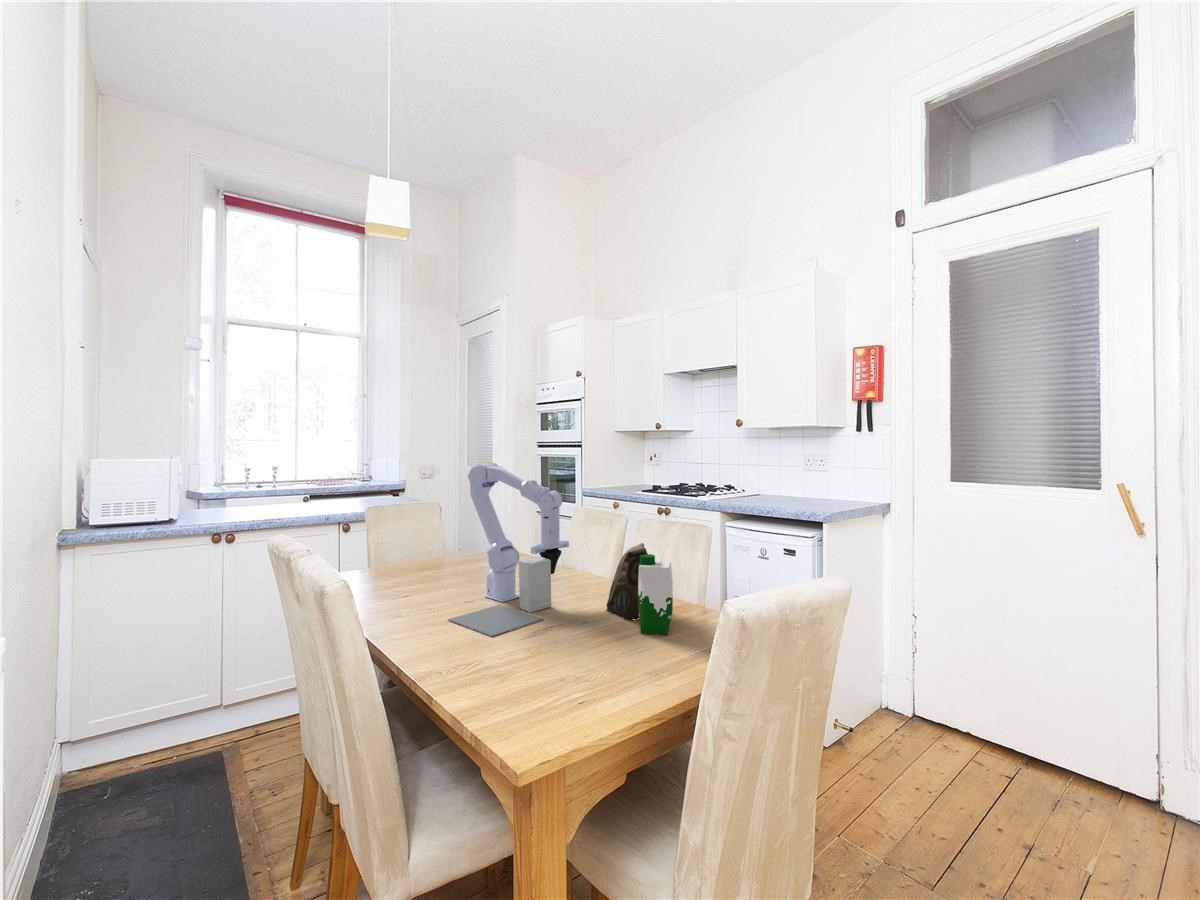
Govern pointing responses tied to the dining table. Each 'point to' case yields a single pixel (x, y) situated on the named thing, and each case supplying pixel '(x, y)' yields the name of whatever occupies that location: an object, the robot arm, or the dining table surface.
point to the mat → (495, 620)
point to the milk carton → (655, 595)
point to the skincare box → (535, 584)
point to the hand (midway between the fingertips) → (550, 573)
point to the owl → (626, 585)
